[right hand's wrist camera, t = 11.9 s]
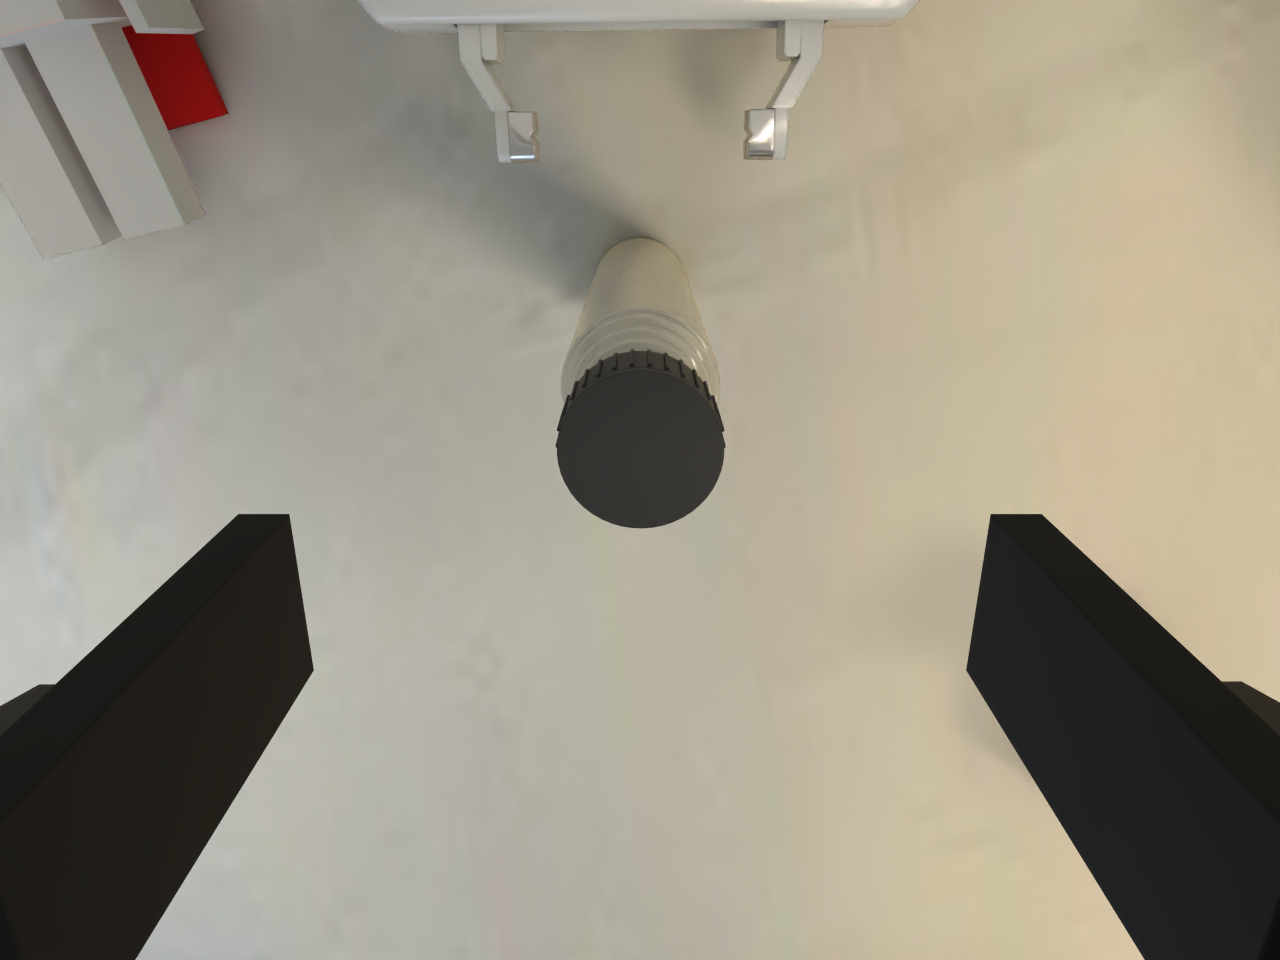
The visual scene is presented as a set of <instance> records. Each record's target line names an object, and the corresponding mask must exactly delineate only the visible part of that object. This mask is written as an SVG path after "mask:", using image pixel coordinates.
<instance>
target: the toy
mask: <svg viewBox="0 0 1280 960" xmlns="http://www.w3.org/2000/svg"><path fill="white" fill-rule="evenodd" d="M202 30H204V27H203V25H202V23H201V21H200V19H199V17H198V15H197V13H196V11H195V9H194V7H193V5H192V3H191V1H190V0H0V184H1V186H2V187H3V189H4V191H5V193H6V195H7V196H8V198H9V200H10V202H11V204H12V205H13V207H14V209H15V211H16V213H17V214H18V216H19V218H20V220H21V221H22V223H23V225H24V227H25V229H26V230H27V232H28V234H29V236H30V238H31V239H32V241H33V243H34V245H35V247H36V248H37V250H38V252H39V254H40V256H41V257H42V259H47V258H51V257H56V256H60V255H64V254H68V253H72V252H76V251H80V250H85V249H89V248H93V247H97V246H101V245H104V244H106V243H108V242H110V241H112V240H114V239H116V238H118V237H120V236H123V238H124V240H126V239H130V238H134V237H138V236H142V235H146V234H151V233H155V232H159V231H163V230H167V229H171V228H175V227H179V226H184V225H186V224H188V223H190V222H192V221H194V220H195V219H197V218H199V217H201V216H203V215H205V214H206V213H205V211H204V209H203V207H202V204H201V202H200V200H199V198H198V196H197V193H196V191H195V189H194V187H193V185H192V182H191V180H190V178H189V176H188V174H187V171H186V169H185V167H184V165H183V163H182V160H181V158H180V156H179V154H178V151H177V149H176V147H175V145H174V143H173V140H172V138H171V136H170V134H169V132H168V130H172V129H175V128H179V127H183V126H186V125H190V124H193V123H197V122H201V121H204V120H208V119H212V118H215V117H219V116H223V115H225V114H228V111H227V109H226V107H225V104H224V102H223V100H222V98H221V96H220V93H219V91H218V89H217V87H216V85H215V82H214V80H213V78H212V76H211V73H210V71H209V69H208V67H207V65H206V62H205V60H204V58H203V56H202V54H201V51H200V49H199V47H198V45H197V43H196V40H195V38H194V36H193V34H195V33H197V32H199V31H202Z"/></svg>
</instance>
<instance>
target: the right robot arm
mask: <svg viewBox="0 0 1280 960" xmlns="http://www.w3.org/2000/svg"><path fill="white" fill-rule="evenodd" d="M313 671H314V669H313V663H312V656H311V650H310V644H309V637H308V631H307V625H306V618H305V612H304V605H303V599H302V593H301V586H300V580H299V574H298V567H297V561H296V554H295V548H294V542H293V535H292V529H291V523H290V516H289V514H238V515H237V516H236V517H235V518H234V519H233V520H232V521H231V522H230V523H229V524H227V525H226V526H225V527H224V528H223V529H222V530H221V531H220V532H219V533H218V534H217V535H216V536H215V537H213V538H212V539H211V540H210V541H209V542H208V543H207V544H206V545H205V546H204V547H203V548H202V549H201V550H199V551H198V552H197V553H196V554H195V555H194V556H193V557H192V558H191V559H190V560H189V561H188V562H187V563H185V564H184V565H183V566H182V567H181V568H180V569H179V570H178V571H177V572H176V573H175V574H174V575H173V576H172V577H170V578H169V579H168V580H167V581H166V582H165V583H164V584H163V585H162V586H161V587H160V588H159V589H158V590H156V591H155V592H154V593H153V594H152V595H151V596H150V597H149V598H148V599H147V600H146V601H145V602H144V603H142V604H141V605H140V606H139V607H138V608H137V609H136V610H135V611H134V612H133V613H132V614H131V615H130V616H128V617H127V618H126V619H125V620H124V621H123V622H122V623H121V624H120V625H119V626H118V627H117V628H116V629H115V630H113V631H112V632H111V633H110V634H109V635H108V636H107V637H106V638H105V639H104V640H103V641H102V642H101V643H99V644H98V645H97V646H96V647H95V648H94V649H93V650H92V651H91V652H90V653H89V654H88V655H87V656H85V657H84V658H83V659H82V660H81V661H80V662H79V663H78V664H77V665H76V666H75V667H74V668H73V669H71V670H70V671H69V672H68V673H67V674H66V675H65V676H64V677H63V678H62V679H61V680H60V681H59V682H58V683H56V684H55V685H38V686H36V687H34V688H32V689H30V690H29V691H27V692H25V693H23V694H21V695H20V696H18V697H16V698H14V699H12V700H11V701H9V702H7V703H5V704H3V705H2V706H0V960H135V959H136V958H137V956H138V954H139V953H140V951H141V950H142V948H143V946H144V945H145V943H146V941H147V940H148V938H149V937H150V935H151V933H152V932H153V930H154V929H155V927H156V925H157V924H158V922H159V920H160V919H161V917H162V916H163V914H164V912H165V911H166V909H167V907H168V906H169V904H170V903H171V901H172V899H173V898H174V896H175V894H176V893H177V891H178V890H179V888H180V886H181V885H182V883H183V881H184V880H185V878H186V877H187V875H188V873H189V872H190V870H191V868H192V867H193V865H194V864H195V862H196V860H197V859H198V857H199V856H200V854H201V852H202V851H203V849H204V847H205V846H206V844H207V843H208V841H209V839H210V838H211V836H212V834H213V833H214V831H215V830H216V828H217V826H218V825H219V823H220V821H221V820H222V818H223V817H224V815H225V813H226V812H227V810H228V808H229V807H230V805H231V804H232V802H233V800H234V799H235V797H236V795H237V794H238V792H239V791H240V789H241V787H242V786H243V784H244V782H245V781H246V779H247V778H248V776H249V774H250V773H251V771H252V770H253V768H254V766H255V765H256V763H257V761H258V760H259V758H260V757H261V755H262V753H263V752H264V750H265V748H266V747H267V745H268V744H269V742H270V740H271V739H272V737H273V735H274V734H275V732H276V731H277V729H278V727H279V726H280V724H281V722H282V721H283V719H284V718H285V716H286V714H287V713H288V711H289V709H290V708H291V706H292V705H293V703H294V701H295V700H296V698H297V697H298V695H299V693H300V692H301V690H302V688H303V687H304V685H305V684H306V682H307V680H308V679H309V677H310V675H311V674H312V672H313ZM966 671H967V672H968V674H969V675H970V677H971V679H972V680H973V682H974V684H975V685H976V687H977V688H978V690H979V692H980V693H981V695H982V696H983V698H984V700H985V701H986V703H987V705H988V706H989V708H990V709H991V711H992V713H993V714H994V716H995V718H996V719H997V721H998V722H999V724H1000V726H1001V727H1002V729H1003V731H1004V732H1005V734H1006V735H1007V737H1008V739H1009V740H1010V742H1011V744H1012V745H1013V747H1014V748H1015V750H1016V752H1017V753H1018V755H1019V757H1020V758H1021V760H1022V761H1023V763H1024V765H1025V766H1026V768H1027V770H1028V771H1029V773H1030V774H1031V776H1032V778H1033V779H1034V781H1035V782H1036V784H1037V786H1038V787H1039V789H1040V791H1041V792H1042V794H1043V795H1044V797H1045V799H1046V800H1047V802H1048V804H1049V805H1050V807H1051V808H1052V810H1053V812H1054V813H1055V815H1056V817H1057V818H1058V820H1059V821H1060V823H1061V825H1062V826H1063V828H1064V830H1065V831H1066V833H1067V834H1068V836H1069V838H1070V839H1071V841H1072V843H1073V844H1074V846H1075V847H1076V849H1077V851H1078V852H1079V854H1080V855H1081V857H1082V859H1083V860H1084V862H1085V864H1086V865H1087V867H1088V868H1089V870H1090V872H1091V873H1092V875H1093V877H1094V878H1095V880H1096V881H1097V883H1098V885H1099V886H1100V888H1101V890H1102V891H1103V893H1104V894H1105V896H1106V898H1107V899H1108V901H1109V903H1110V904H1111V906H1112V907H1113V909H1114V911H1115V912H1116V914H1117V916H1118V917H1119V919H1120V920H1121V922H1122V924H1123V925H1124V927H1125V928H1126V930H1127V932H1128V933H1129V935H1130V937H1131V938H1132V940H1133V941H1134V943H1135V945H1136V946H1137V948H1138V950H1139V951H1140V953H1141V954H1142V956H1143V958H1144V959H1145V960H1280V703H1279V702H1278V701H1276V700H1274V699H1272V698H1270V697H1269V696H1267V695H1265V694H1263V693H1261V692H1260V691H1258V690H1256V689H1254V688H1252V687H1251V686H1249V685H1247V684H1245V683H1243V682H1221V681H1220V680H1219V679H1218V678H1217V677H1216V676H1215V675H1214V674H1213V673H1212V672H1211V671H1210V670H1209V669H1207V668H1206V667H1205V666H1204V665H1203V664H1202V663H1201V662H1200V661H1199V660H1198V659H1197V658H1196V657H1195V656H1193V655H1192V654H1191V653H1190V652H1189V651H1188V650H1187V649H1186V648H1185V647H1184V646H1183V645H1182V644H1181V643H1179V642H1178V641H1177V640H1176V639H1175V638H1174V637H1173V636H1172V635H1171V634H1170V633H1169V632H1168V631H1167V630H1165V629H1164V628H1163V627H1162V626H1161V625H1160V624H1159V623H1158V622H1157V621H1156V620H1155V619H1154V618H1153V617H1152V616H1150V615H1149V614H1148V613H1147V612H1146V611H1145V610H1144V609H1143V608H1142V607H1141V606H1140V605H1139V604H1138V603H1136V602H1135V601H1134V600H1133V599H1132V598H1131V597H1130V596H1129V595H1128V594H1127V593H1126V592H1125V591H1124V590H1122V589H1121V588H1120V587H1119V586H1118V585H1117V584H1116V583H1115V582H1114V581H1113V580H1112V579H1111V578H1110V577H1109V576H1107V575H1106V574H1105V573H1104V572H1103V571H1102V570H1101V569H1100V568H1099V567H1098V566H1097V565H1096V564H1095V563H1093V562H1092V561H1091V560H1090V559H1089V558H1088V557H1087V556H1086V555H1085V554H1084V553H1083V552H1082V551H1081V550H1079V549H1078V548H1077V547H1076V546H1075V545H1074V544H1073V543H1072V542H1071V541H1070V540H1069V539H1068V538H1067V537H1065V536H1064V535H1063V534H1062V533H1061V532H1060V531H1059V530H1058V529H1057V528H1056V527H1055V526H1054V525H1053V524H1052V523H1050V522H1049V521H1048V520H1047V519H1046V518H1045V517H1044V516H1043V515H1042V514H991V516H990V523H989V529H988V535H987V542H986V548H985V554H984V561H983V567H982V574H981V580H980V586H979V593H978V599H977V605H976V612H975V618H974V625H973V631H972V637H971V644H970V650H969V656H968V663H967V669H966Z"/></svg>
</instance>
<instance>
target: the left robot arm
mask: <svg viewBox="0 0 1280 960" xmlns="http://www.w3.org/2000/svg"><path fill="white" fill-rule="evenodd" d="M357 1H358V3H359V4H360V5H361V7H362V8H363V9H364V10H365V11H366V13H367V14H368V15H369V16H370V17H371V18H372V19H373V20H374V21H375V22H376V23H377V24H379V25H380V26H382V27H384V28H386V29H389V30H392V31H394V32H398V33H458V43H459V56H460V62H461V63H462V65H463V67H464V68H465V70H466V72H467V73H468V75H469V77H470V78H471V80H472V82H473V83H474V85H475V87H476V88H477V90H478V92H479V93H480V95H481V97H482V98H483V100H484V101H485V103H486V105H487V106H488V108H489V110H490V111H492V112H494V121H495V136H496V152H497V158H498V162H499V163H511V162H512V163H517V162H539V161H540V143H539V142H538V141H537V139H536V138H535V137H536V136H537V134H538V132H539V121H538V113H535V112H517V110H516V109H515V107H514V105H513V103H512V102H511V100H510V98H509V96H508V95H507V93H506V91H505V90H504V88H503V86H502V84H501V83H500V81H499V79H498V77H497V76H496V74H495V72H494V70H493V69H492V67H491V63H492V64H494V65H503V64H504V63H505V62H506V53H505V33H504V32H556V31H642V30H729V29H777V43H776V59H777V60H778V61H789V60H791V64H790V65H789V67H788V69H787V71H786V73H785V74H784V76H783V78H782V80H781V82H780V83H779V85H778V87H777V89H776V90H775V92H774V94H773V96H772V98H771V99H770V101H769V103H768V105H767V107H766V108H765V109H750V110H746V111H744V130H745V132H746V133H747V135H748V136H747V137H746V139H745V140H744V142H743V156H744V159H746V160H785V156H786V150H787V134H788V113H789V109H790V108H792V107H793V106H794V104H795V102H796V101H797V99H798V97H799V95H800V94H801V92H802V90H803V89H804V87H805V85H806V83H807V82H808V80H809V78H810V77H811V75H812V73H813V71H814V70H815V68H816V66H817V65H818V63H819V61H820V59H821V58H822V48H823V32H824V28H881V27H886V26H889V25H891V24H894V23H896V22H898V21H900V20H901V19H903V18H905V17H906V16H907V15H908V14H909V13H910V12H911V11H912V9H913V8H914V7H915V6H916V5H917V3H918V2H919V1H920V0H357Z"/></svg>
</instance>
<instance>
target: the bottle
mask: <svg viewBox="0 0 1280 960" xmlns="http://www.w3.org/2000/svg"><path fill="white" fill-rule="evenodd" d="M631 349H634V351H647V350H648V349H651V352H657V353H661V354H664V352H665V353H668V356H670V357H673V358H675V359H677V360H680V359H681V360H683V363H684V364H685V365H687V366H688V367H689V368H691V369H692V370H693V369H695V370H696V371H697V375H698V376H699V377H700V378H701V379H702V381H703V382H704V381H706V382H707V385H708V388H709V392H710V394H711V396H712V395H714V397H715V400H716V403H718V398H719V390H720V380H719V372H718V366H717V363H716V360H715V357H714V354H713V351H712V349H711V346H710V343H709V340H708V337H707V334H706V331H705V328H704V325H703V322H702V319H701V317H700V314H699V311H698V308H697V305H696V302H695V299H694V296H693V293H692V290H691V288H690V285H689V282H688V279H687V276H686V273H685V270H684V267H683V265H682V263H681V261H680V260H679V258H678V257H677V255H676V254H675V253H674V252H673V251H672V250H671V249H669V248H668V247H667V246H665V245H664V244H662V243H660V242H658V241H655V240H652V239H646V238H634V239H629V240H626V241H623V242H621V243H619V244H617V245H615V246H614V247H612V248H611V249H610V250H609V251H608V252H607V253H606V254H605V255H604V256H603V258H602V259H601V261H600V262H599V264H598V266H597V269H596V272H595V275H594V277H593V280H592V283H591V286H590V289H589V292H588V295H587V298H586V301H585V304H584V307H583V310H582V313H581V316H580V319H579V321H578V324H577V327H576V330H575V333H574V336H573V339H572V342H571V345H570V348H569V351H568V354H567V357H566V360H565V363H564V367H563V371H562V378H561V391H562V399H563V403H564V404H565V401H566V397H567V395H570V394H571V392H572V389H573V386H574V382H575V381H579V380H580V379H581V377H582V376H583V375H584V373H585V370H586V369H587V368H588V369H590V368H592V367H593V366H595V365H596V364H597V363H598V360H600V359H602V360H604V359H606V358H608V357H611V356H614V353H616V352H617V353H618V354H620V353H624V352H629V351H630V350H631Z"/></svg>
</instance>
